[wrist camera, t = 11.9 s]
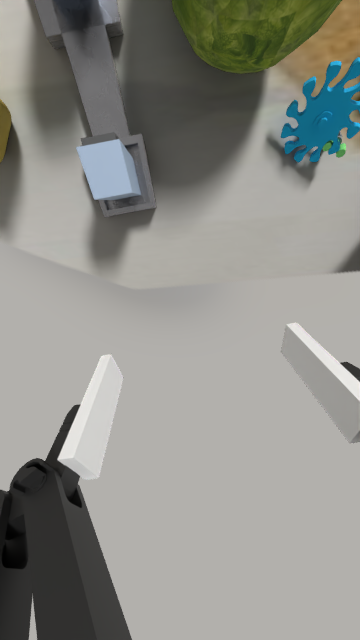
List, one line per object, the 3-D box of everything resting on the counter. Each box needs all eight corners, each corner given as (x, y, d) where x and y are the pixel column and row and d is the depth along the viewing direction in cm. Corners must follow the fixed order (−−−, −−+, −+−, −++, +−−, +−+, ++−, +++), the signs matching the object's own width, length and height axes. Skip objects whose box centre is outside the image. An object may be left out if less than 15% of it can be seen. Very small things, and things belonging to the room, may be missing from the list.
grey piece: (94, -117, 17) (-1, -551, 7) (156, 206, 32) (153, 209, 22) (7, -97, 18) (-201, -495, 8) (109, 215, 32) (84, 222, 22)
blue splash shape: (267, 124, 26) (364, 29, 18) (273, 100, 28) (365, 2, 20) (300, 184, 32) (386, 131, 23) (304, 161, 33) (386, 104, 25)
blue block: (131, 151, 26) (116, 127, 18) (141, 195, 29) (132, 192, 21) (101, 157, 26) (72, 136, 18) (113, 200, 29) (94, 199, 21)
